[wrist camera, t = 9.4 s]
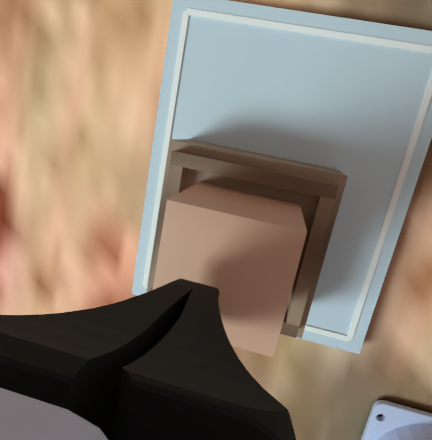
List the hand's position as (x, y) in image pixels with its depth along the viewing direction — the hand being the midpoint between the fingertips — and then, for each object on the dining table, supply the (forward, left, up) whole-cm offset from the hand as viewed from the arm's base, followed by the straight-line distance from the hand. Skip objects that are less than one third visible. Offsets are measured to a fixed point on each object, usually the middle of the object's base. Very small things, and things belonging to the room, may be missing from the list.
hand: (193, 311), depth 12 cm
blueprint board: (+3, -2, -10) cm, 11 cm away
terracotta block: (+1, -1, -6) cm, 6 cm away
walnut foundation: (+1, -1, -9) cm, 9 cm away
